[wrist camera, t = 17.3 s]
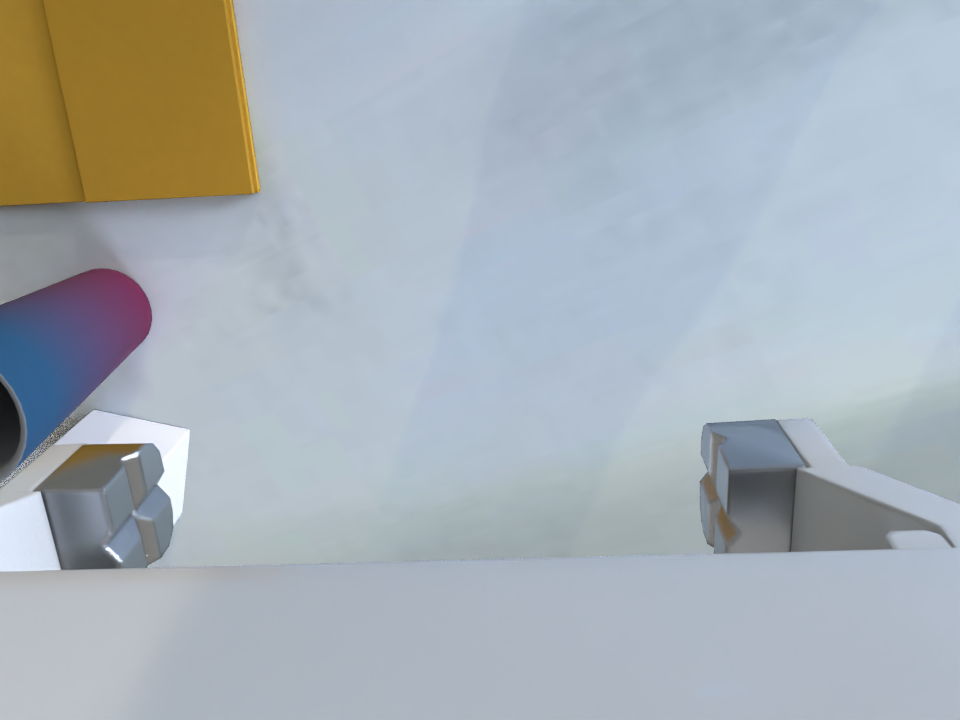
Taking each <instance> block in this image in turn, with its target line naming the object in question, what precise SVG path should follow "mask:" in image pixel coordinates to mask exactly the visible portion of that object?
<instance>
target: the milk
mask: <svg viewBox="0 0 960 720" xmlns="http://www.w3.org/2000/svg"><path fill="white" fill-rule="evenodd" d="M189 436H190V430H188V429H184V428H179V427H174V426H169V425H165V424H160V423H155V422H150V421H146V420H141V419H136V418H131V417H126V416H122V415H117V414H112V413H107V412H102V411H98V410H93V411H91V412H90V413H89V414H88V415H87V416H85V417H84V418H83V419H82V420H81V421H80V422H78V423H77V424H76V425H75V426H74V427H73V428H72V429H70V430H69V431H68V432H67V433H66V434H65V435H63V436H62V437H61V438H60V439H59V440H58V441H57V442H55V443H54V444H53V445H65V444H81V443H87V444H132V443H153V444H154V445H155V446H156V447H157V449H158V450H159V451H160V454H161V458H162V463H163V467H164V473H163V475H162V477H161V479H160V480H159V482H158V484H157V485H158V486H159V487H160V488H161V489H162V490H163V491H164V492H165V493H166V494H167V495H168V496H169V497H170V499H171V505H172V510H173V525H174V524H175V522H176V521H177V520H178V518H179V517H180V515H181V514H182V509H183V498H184V488H185V477H186V467H187V457H188V446H189Z"/></svg>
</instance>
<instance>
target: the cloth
mask: <svg viewBox="0 0 960 720" xmlns="http://www.w3.org/2000/svg"><path fill="white" fill-rule="evenodd" d="M257 192H260V185H259V178H258V171H257V164H256V158H255V151H254V144H253V137H252V130H251V123H250V117H249V110H248V103H247V96H246V89H245V82H244V76H243V69H242V62H241V55H240V48H239V41H238V35H237V28H236V21H235V14H234V7H233V0H0V206H9V205H28V204H47V203H66V202H87V203H88V202H107V201H126V200H146V199H165V198H184V197H203V196H222V195H241V194H253V193H257Z"/></svg>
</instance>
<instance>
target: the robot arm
mask: <svg viewBox="0 0 960 720" xmlns="http://www.w3.org/2000/svg"><path fill="white" fill-rule="evenodd" d="M701 455H702V458H703V460H704V463H705V465H706V468H707V470H708V472H707V473H706V474H705V476H704V477H703V478H702V479H701V481H700V511H701V522H702V527H703V532H704V535H705V538H706V541H707V544H709V545H710V546H712V547H714V554H684V555H643V556H603V557H563V558H523V559H483V560H443V561H403V562H363V563H323V564H283V565H243V566H203V567H163V568H147V565H149V564H151V563H153V562H155V561H156V560H158V559H160V558H162V556H163V554H164V553H165V551H166V550H167V548H168V547H169V544H170V540H171V536H172V532H173V510H172V505H171V499H170V497H169V496H168V495H167V494H166V493H165V492H164V491H163V490H162V489H161V488H160V487H159V486H158V485H157V484H158V482H159V480H160V479H161V477H162V475H163V473H164V467H163V463H162V458H161V454H160V451H159V450H158V449H157V447H156V446H155V445H154V444H153V443H132V444H87V443H81V444H65V445H51V446H50V447H49V448H48V449H46V450H45V451H44V452H43V453H42V454H41V455H39V456H38V457H37V458H36V459H35V460H33V461H32V462H31V463H30V464H29V465H28V466H26V467H25V468H24V469H23V470H22V471H20V472H19V473H18V474H17V475H16V476H15V477H13V478H12V479H11V480H10V481H9V482H8V483H6V484H5V485H4V486H3V487H2V488H0V720H960V504H958V503H955V502H952V501H950V500H947V499H945V498H942V497H939V496H937V495H934V494H932V493H929V492H926V491H924V490H921V489H918V488H916V487H913V486H911V485H908V484H905V483H903V482H900V481H898V480H895V479H892V478H890V477H887V476H885V475H882V474H879V473H877V472H874V471H872V470H869V469H866V468H864V467H861V466H848V465H847V464H846V462H845V461H844V460H843V458H842V457H841V456H840V454H839V453H838V452H837V451H836V449H835V448H834V447H833V445H832V444H831V443H830V442H829V440H828V439H827V438H826V436H825V435H824V434H823V432H822V431H821V430H820V429H819V427H818V426H817V425H816V423H815V422H814V421H813V419H809V418H802V419H788V420H775V419H772V420H754V421H736V422H719V423H706V424H705V425H704V426H703V430H702V437H701Z"/></svg>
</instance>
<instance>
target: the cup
mask: <svg viewBox="0 0 960 720" xmlns="http://www.w3.org/2000/svg"><path fill="white" fill-rule="evenodd" d="M151 322H152V313H151V307H150V304H149V301H148V299H147V297H146V295H145V293H144V292H143V290H142V289H141V288H140V286H139V285H138V284H137V283H135V282H134V281H133V280H132V279H131V278H129V277H128V276H126V275H124V274H122V273H120V272H118V271H114V270H110V269H93V270H90V271H87V272H84V273H81V274H79V275H76V276H74V277H71V278H69V279H66V280H63V281H61V282H58V283H56V284H53V285H51V286H48V287H46V288H43V289H41V290H38V291H35V292H33V293H30V294H28V295H25V296H23V297H20V298H18V299H15V300H12V301H10V302H7V303H5V304H2V305H0V481H2V480H4V479H6V478H7V477H8V476H9V475H10V474H11V473H12V472H13V471H14V470H15V469H16V468H17V467H18V466H19V465H20V464H21V463H22V462H23V461H24V460H25V459H26V458H27V457H28V456H29V455H30V454H31V453H32V452H33V451H34V450H35V449H36V448H37V447H38V446H39V445H40V444H41V443H42V442H43V441H44V440H45V439H46V438H47V437H48V436H49V435H50V434H51V433H52V432H53V431H54V430H55V429H56V428H57V427H58V426H59V425H60V424H61V423H62V422H63V421H64V420H65V419H66V418H67V417H68V416H69V415H70V414H71V413H72V412H73V411H74V410H75V409H76V408H77V407H78V406H79V405H80V404H81V403H82V402H83V401H84V400H85V399H86V398H87V397H88V396H89V395H90V394H91V393H92V392H93V391H94V390H95V389H96V388H97V387H98V386H99V385H100V384H101V383H102V382H103V381H104V380H105V379H106V378H107V377H108V376H109V375H110V374H111V373H112V372H113V371H114V370H115V369H116V368H117V367H118V366H119V365H120V364H121V363H122V362H123V361H124V360H125V359H126V358H127V356H128V355H129V354H130V353H131V352H132V351H133V350H134V349H135V348H136V347H137V346H138V345H139V344H140V343H141V342H142V341H143V340H144V339H145V338H146V336H147V335H148V333H149V330H150V327H151Z"/></svg>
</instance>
